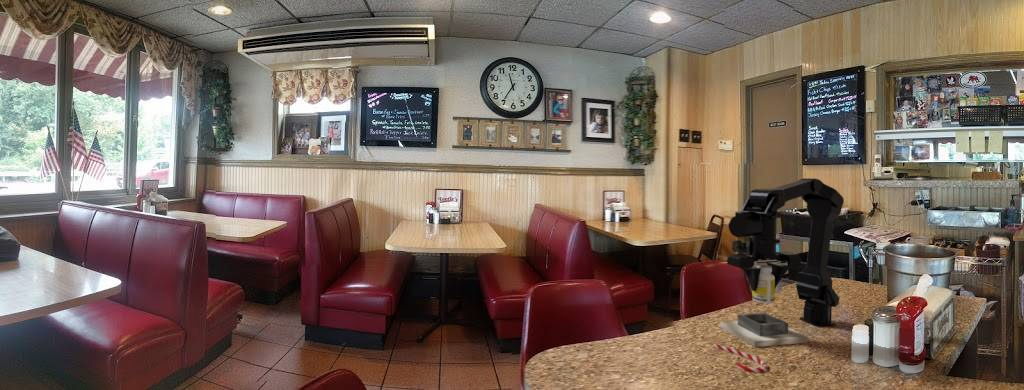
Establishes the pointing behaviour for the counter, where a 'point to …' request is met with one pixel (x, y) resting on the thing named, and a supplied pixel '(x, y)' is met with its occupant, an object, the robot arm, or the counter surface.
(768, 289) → the supplement bottle
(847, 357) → the counter surface
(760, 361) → the candy cane
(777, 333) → the holder board
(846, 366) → the counter surface
